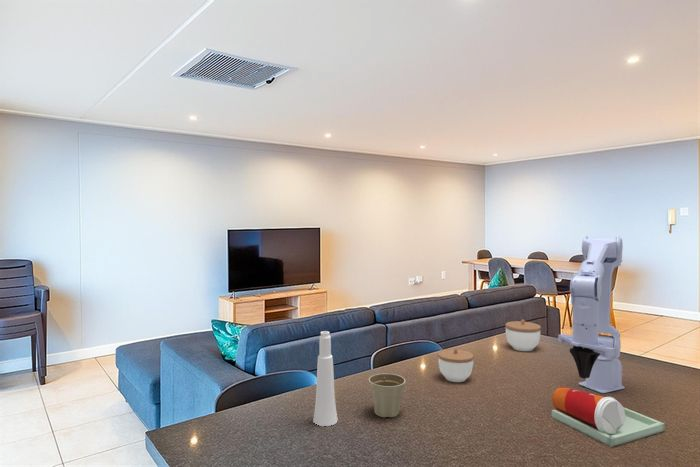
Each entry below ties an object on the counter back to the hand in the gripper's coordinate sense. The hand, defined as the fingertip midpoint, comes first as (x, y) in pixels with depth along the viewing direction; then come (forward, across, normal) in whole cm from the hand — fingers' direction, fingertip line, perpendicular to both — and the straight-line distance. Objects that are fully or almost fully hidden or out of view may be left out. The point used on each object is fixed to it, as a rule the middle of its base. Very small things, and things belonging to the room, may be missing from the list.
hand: (584, 377), depth 114 cm
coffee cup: (+6, -4, -4) cm, 8 cm away
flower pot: (+10, -21, -45) cm, 51 cm away
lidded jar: (+10, -34, -14) cm, 38 cm away
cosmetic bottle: (+10, -23, -61) cm, 66 cm away
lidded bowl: (+10, -50, +29) cm, 59 cm away
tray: (+9, +6, 0) cm, 11 cm away
